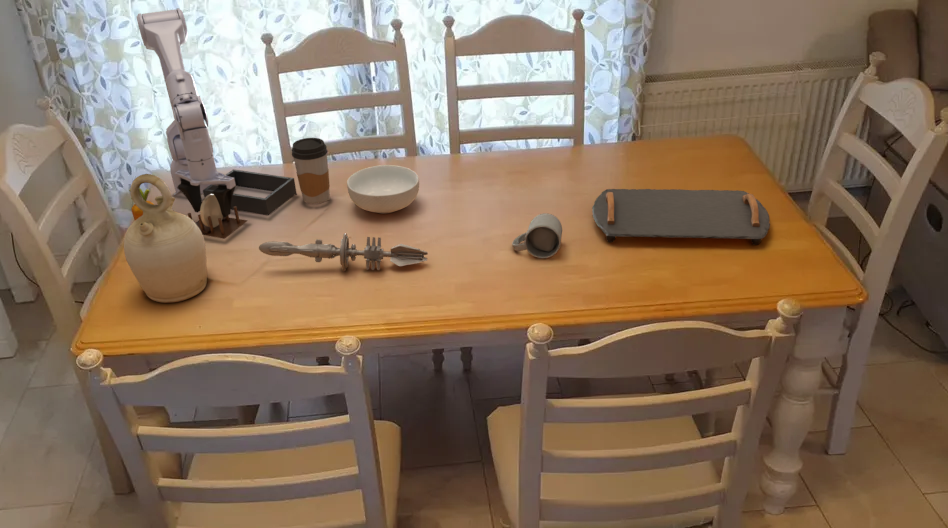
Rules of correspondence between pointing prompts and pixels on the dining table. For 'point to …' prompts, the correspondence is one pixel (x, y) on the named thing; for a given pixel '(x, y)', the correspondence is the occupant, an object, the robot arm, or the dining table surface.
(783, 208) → the dining table surface
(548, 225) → the ceramic mug
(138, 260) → the jug
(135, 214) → the carrot
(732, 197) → the serving tray
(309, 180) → the coffee cup
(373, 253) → the spaceship
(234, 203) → the dark grey open box
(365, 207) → the cereal bowl
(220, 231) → the dish rack
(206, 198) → the saucer
